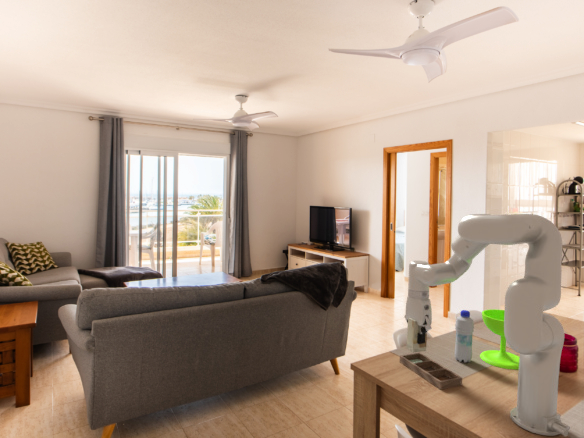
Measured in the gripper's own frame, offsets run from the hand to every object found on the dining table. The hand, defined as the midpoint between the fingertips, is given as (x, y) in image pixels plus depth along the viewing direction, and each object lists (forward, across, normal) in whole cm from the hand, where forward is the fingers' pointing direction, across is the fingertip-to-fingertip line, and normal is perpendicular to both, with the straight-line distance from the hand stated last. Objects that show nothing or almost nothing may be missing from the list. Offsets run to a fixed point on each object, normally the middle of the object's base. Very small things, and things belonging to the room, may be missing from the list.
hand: (416, 340), depth 144 cm
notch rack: (+9, -7, 0) cm, 12 cm away
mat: (+9, 0, 0) cm, 9 cm away
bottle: (+10, -3, -20) cm, 22 cm away
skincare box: (+4, 0, 0) cm, 4 cm away
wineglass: (+10, -8, -35) cm, 37 cm away
